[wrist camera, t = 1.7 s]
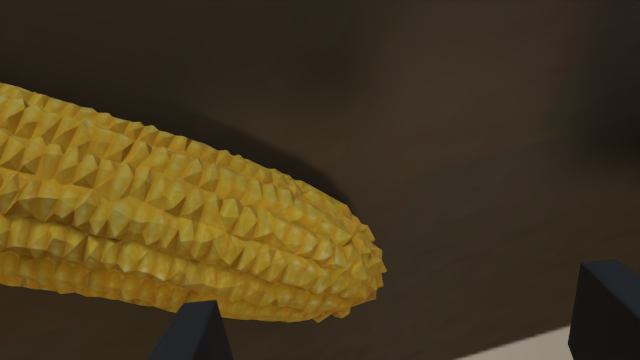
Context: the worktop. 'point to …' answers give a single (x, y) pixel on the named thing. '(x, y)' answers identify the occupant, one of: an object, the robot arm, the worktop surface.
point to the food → (168, 220)
